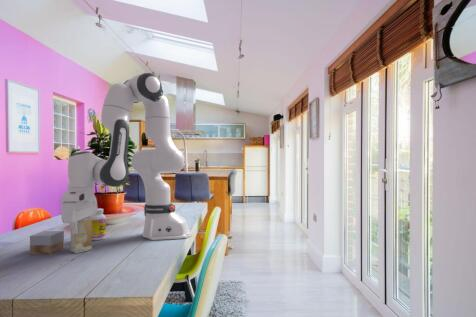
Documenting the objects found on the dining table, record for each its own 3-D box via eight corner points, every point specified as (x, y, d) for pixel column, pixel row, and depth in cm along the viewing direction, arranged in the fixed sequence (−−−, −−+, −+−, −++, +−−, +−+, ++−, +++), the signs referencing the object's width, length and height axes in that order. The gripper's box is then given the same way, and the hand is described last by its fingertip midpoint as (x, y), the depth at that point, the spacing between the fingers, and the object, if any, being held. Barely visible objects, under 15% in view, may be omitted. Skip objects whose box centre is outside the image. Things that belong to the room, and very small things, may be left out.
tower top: (63, 239, 125) (63, 231, 125) (51, 245, 117) (50, 236, 117) (44, 239, 126) (44, 230, 126) (29, 245, 118) (29, 235, 118)
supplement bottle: (99, 241, 135) (99, 210, 135) (85, 240, 137) (85, 210, 137) (109, 237, 142) (108, 208, 142) (95, 236, 143) (95, 207, 143)
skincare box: (75, 253, 118) (75, 220, 117) (70, 251, 120) (69, 219, 120) (92, 249, 123) (92, 217, 123) (86, 247, 125) (86, 216, 125)
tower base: (63, 248, 125) (63, 239, 125) (51, 255, 117) (51, 245, 117) (43, 249, 125) (43, 240, 125) (29, 255, 117) (29, 245, 117)
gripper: (86, 191, 132) (86, 224, 132) (57, 197, 111) (57, 237, 111) (101, 191, 132) (101, 224, 132) (75, 197, 111) (75, 237, 111)
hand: (81, 230), depth 121 cm, fingers open, 7 cm apart
